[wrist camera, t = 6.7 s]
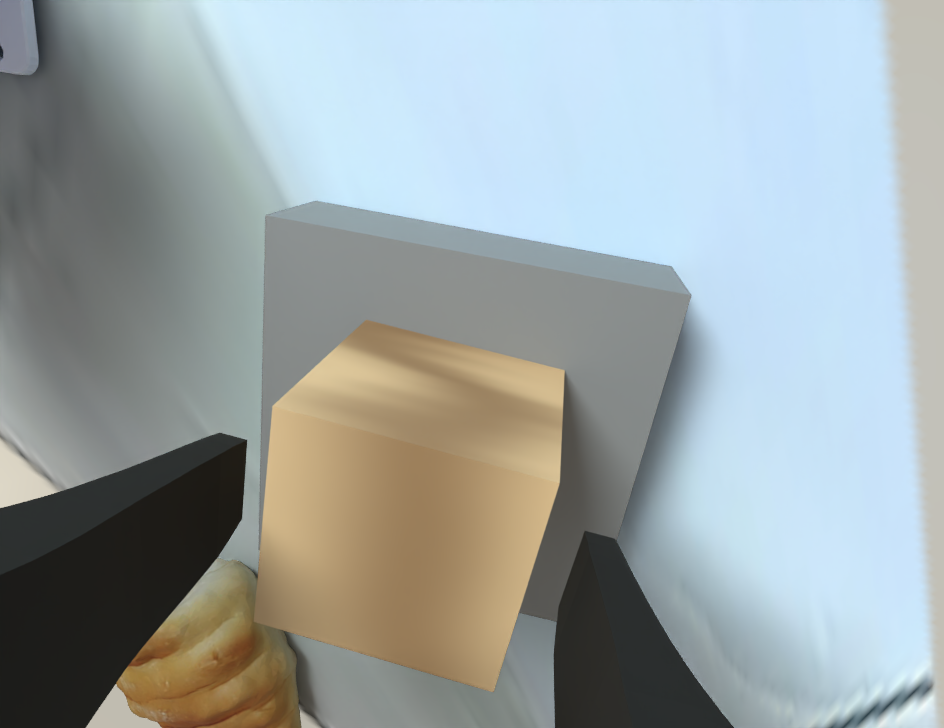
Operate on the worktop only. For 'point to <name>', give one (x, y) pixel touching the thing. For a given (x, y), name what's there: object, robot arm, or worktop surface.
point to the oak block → (409, 500)
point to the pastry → (215, 661)
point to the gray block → (487, 339)
